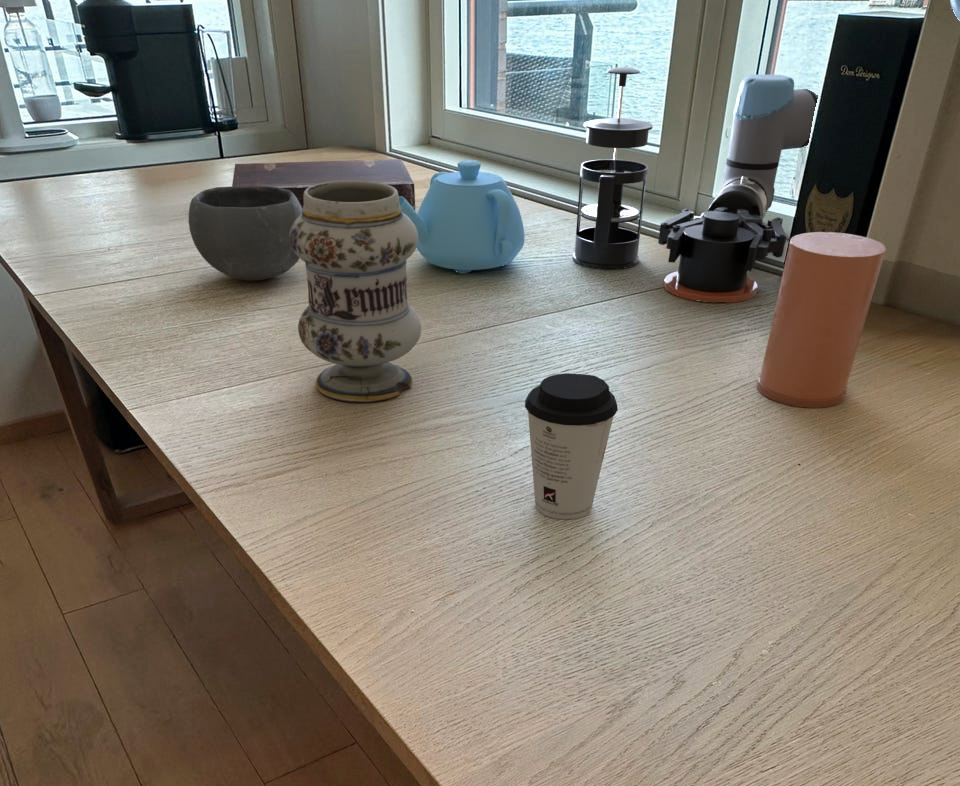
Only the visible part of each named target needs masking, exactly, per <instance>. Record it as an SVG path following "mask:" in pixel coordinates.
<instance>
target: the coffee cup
mask: <svg viewBox="0 0 960 786" xmlns="http://www.w3.org/2000/svg"><path fill="white" fill-rule="evenodd" d="M524 408H525V409H526V411H527V417H528V429H529V430H528V431H529V442H530V443H529V444H530V452H531V454H530V455H531V468H532V481H533V492H534V493H533V495H534V506H535V508H536V509H537V511H538V512H539V513H541V514H542V515H543V516H546V517H549V518H552V519H555V520H575V519H579V518H583V517H585V516H586V515H588V514H589V513H590V512H591V510H592V508H593V504H594V499H595V496H596V491H597V487H598V483H599V478H600V475H601V472H602V471H601V470H602V466H603V463H604V458H605V454H606V449H607V445H608V442H609V438H610V433H611V428H612V425H613V420H614V416H615V415H616V414H617V413H618V411H619V408H618V403H617V399H616V396H615V395H614V394H613V392H611V390H610V386H609V384H608V383H607V382H606V381H605V380H604V379H602V378H600V377H598V376H597V375H595V374H594V375H593V374H584V373H570V372H565V373H556V374H553V375H549V376H547V377H545V378H543V379H542V381H540V384H539V385H537V386H535V387H534V388H532V389H531V390H530V392H529V393H528V394H527V396H526V398H525V400H524Z"/></svg>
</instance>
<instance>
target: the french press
mask: <svg viewBox="0 0 960 786" xmlns="http://www.w3.org/2000/svg"><path fill="white" fill-rule="evenodd" d="M606 73H608V74H612V75H618V86H617V87H619V97H618V107H617V108H618V110H617V117H605V118H598V119H597V118H596V119H590V120H587V121H585V122H584V123H583V127H584V128H585V129H586V135H585V138H586V139H585V142H586V144H588V145H590V146H593V147H598V148H608V149H614V152H613V159H612V158H611V159H610V158H609V159H593V160H588V161H587V160H586V161H584V162H582V163H581V164H580V173H579V174H580V175H579V188H578V202H577V215H576V229H575V242H574V252H573V254H572V260H573V261H574V263H576V262H577V263H576V264H578V263H579V264H578V265H580V264H581V265H580V266H583V265H585V266H584V267H586V266H588V267H587V268H591V267H594V268H593V269H597V268H601V269H600V270H616V269H615V268H622V269H625V268H624V267H628V268H631V267H630V266H632V267H634V266H636V265H637V264H638V263H639V260H640V257H639V255H638V254H639V248H640V247H639V246H640V239H641V231H642V229H641V228H642V220H643V214H644V213H643V212H644V204H645V197H646V196H645V195H646V186H647V180H648V179H647V177H648V169H649V166H648V165H647V164H645V163H642V162H638V161H634V160H627V159H618V158H617V157H618V149H635V148H636V149H637V148H643V147H645V146H647V145H648V139H649V133H650V132H649V131H651V130H653V127H654V125H653V124H652V123H651V122H648V121H643V120H637V119H632V118H625V117H621V115H622V105H623V95H624V88H625V87H626V85H627V77H628V75H638V74H640V73H641V72H640V70H639V69H636V68H634V67H625V66H624V67H622V66H620V67H619V66H618V67H612V68H608V69H607V70H606ZM609 171H610V172H609ZM584 181H588V182H592V183H597V184H598V193H597V203H596V204H589V205H585V206H582V204H583V193H584V192H583V189H584ZM641 182H643V183H642V190H641V200H640V209H638V208H636V207H633V206H631V205H625V204H622V200H623V190H624V185H628V184H636V183H637V184H638V183H641ZM581 218H583V219H585V220H587V221H591V222H595V226H592V227H585V228H582V229H581ZM636 220H638V225H637V226H638V227H637V231H634V230H631V229H629V228H623V227H620V224H622V223H623V224H624V223H630V222H634V221H636ZM635 264H636V265H635ZM633 265H634V266H633Z"/></svg>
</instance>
